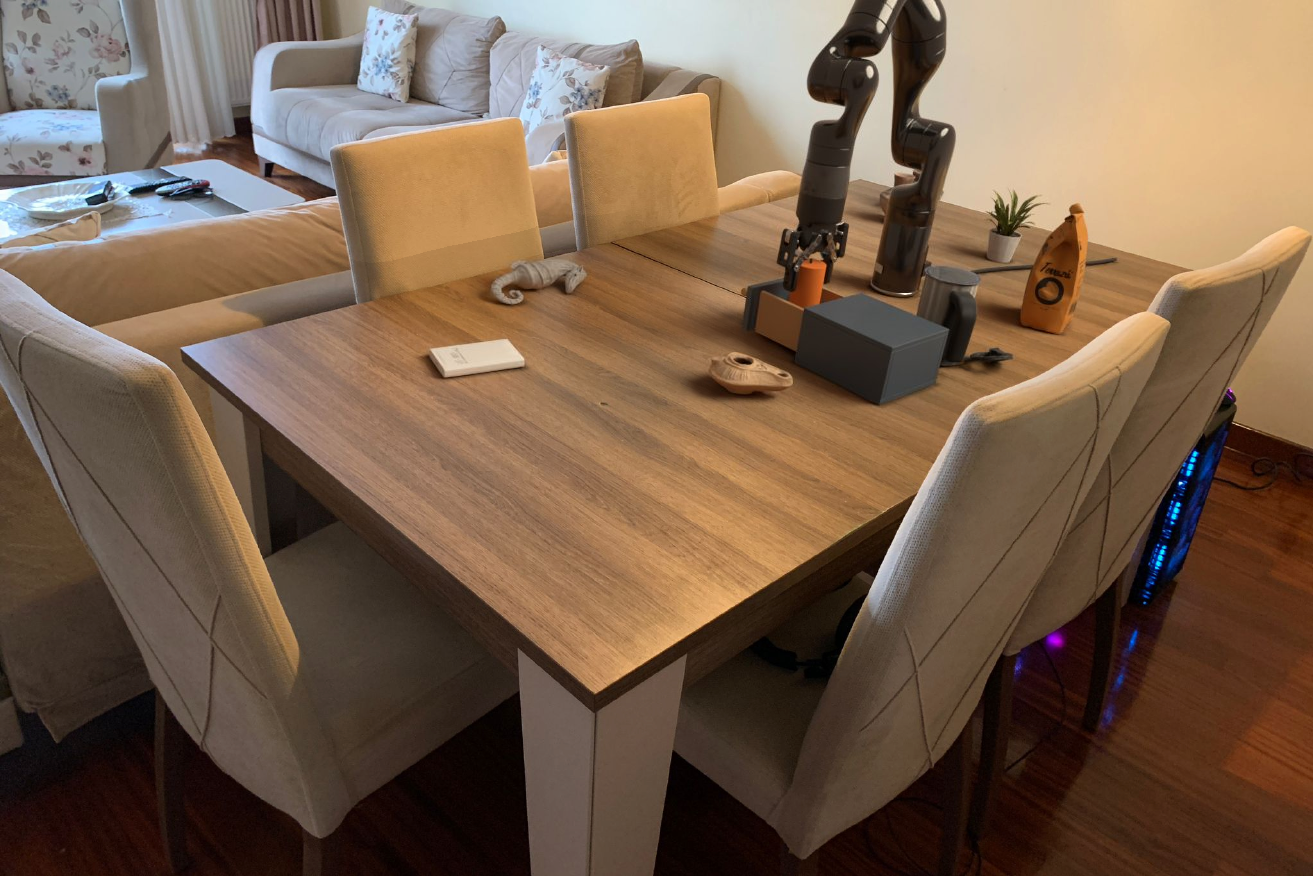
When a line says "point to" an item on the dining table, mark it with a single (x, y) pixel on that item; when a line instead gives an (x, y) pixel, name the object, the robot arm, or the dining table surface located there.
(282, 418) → the dining table surface
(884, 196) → the pottery
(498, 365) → the hard drive
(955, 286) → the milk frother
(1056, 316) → the coffee package
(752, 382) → the pottery oil lamp
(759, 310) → the drawer
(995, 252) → the house plant
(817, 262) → the candle
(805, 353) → the cabinet
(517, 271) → the seahorse
